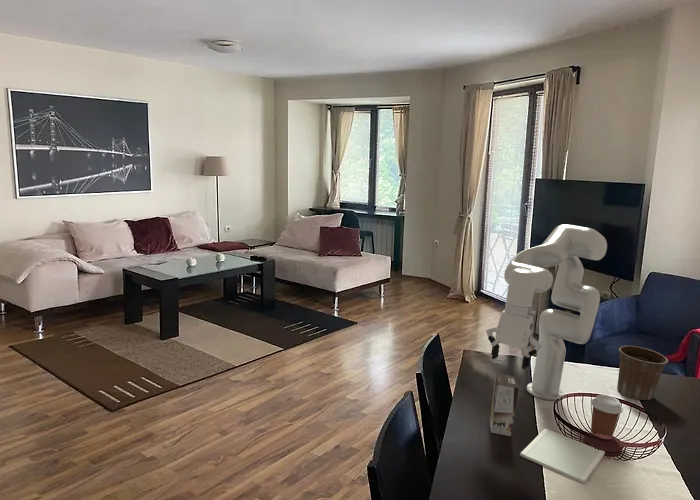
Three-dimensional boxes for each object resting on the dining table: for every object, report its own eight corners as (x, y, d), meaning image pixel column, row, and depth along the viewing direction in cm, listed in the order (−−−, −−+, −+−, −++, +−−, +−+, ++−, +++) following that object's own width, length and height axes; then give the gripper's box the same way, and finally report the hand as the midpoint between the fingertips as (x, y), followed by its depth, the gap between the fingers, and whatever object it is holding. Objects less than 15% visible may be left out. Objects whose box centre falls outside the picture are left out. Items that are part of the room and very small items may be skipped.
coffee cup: (618, 445, 168) (625, 409, 166) (586, 437, 171) (593, 402, 169) (615, 431, 177) (622, 397, 174) (585, 424, 180) (591, 390, 177)
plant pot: (667, 399, 205) (676, 358, 201) (645, 408, 195) (654, 365, 192) (625, 381, 218) (633, 343, 214) (603, 389, 209) (610, 349, 205)
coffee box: (511, 436, 168) (519, 388, 165) (490, 433, 169) (497, 384, 166) (509, 422, 177) (516, 375, 173) (489, 418, 178) (495, 372, 175)
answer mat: (544, 430, 173) (545, 428, 173) (604, 454, 162) (605, 451, 162) (520, 455, 158) (520, 452, 158) (584, 483, 147) (585, 480, 147)
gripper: (550, 314, 163) (541, 368, 166) (496, 300, 173) (488, 351, 176) (541, 319, 157) (532, 375, 160) (485, 304, 167) (478, 357, 170)
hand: (509, 362), depth 168 cm, fingers open, 9 cm apart
